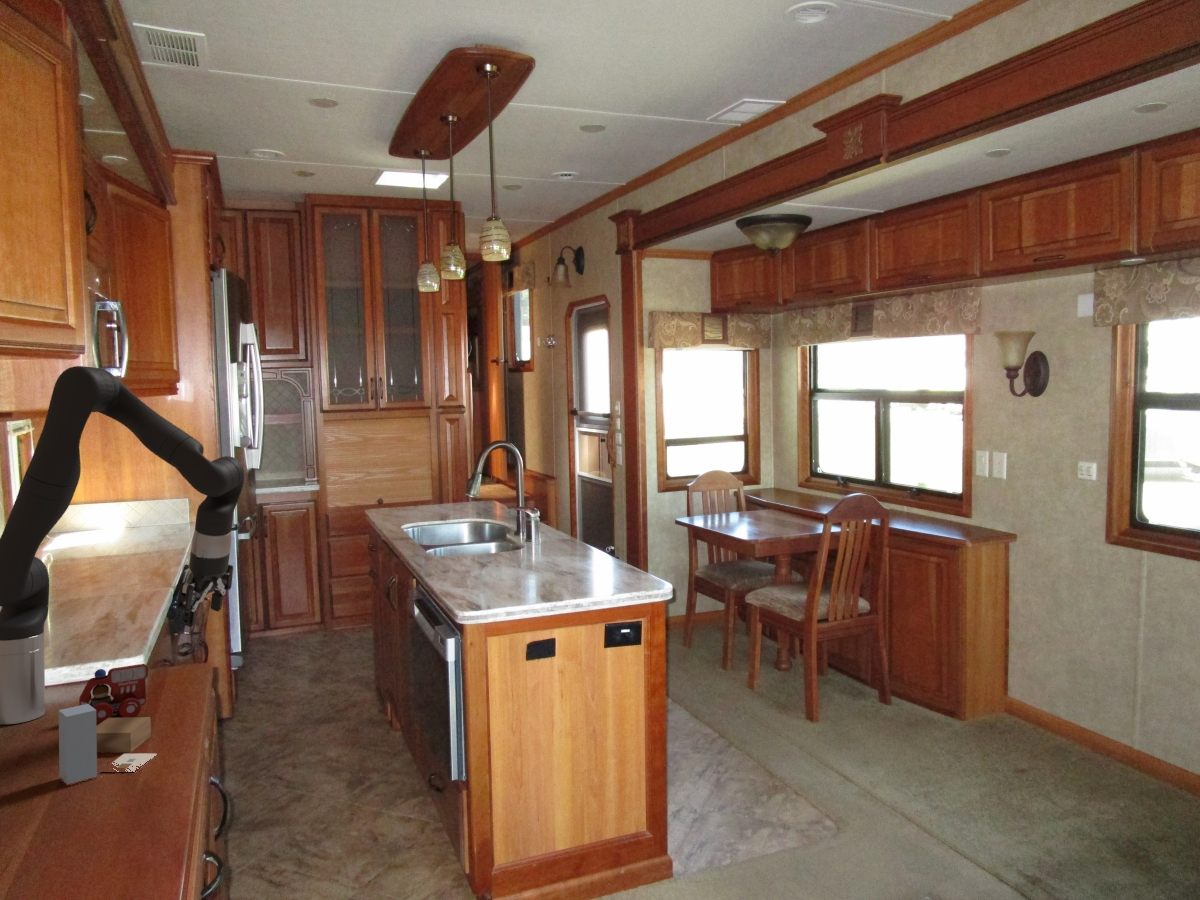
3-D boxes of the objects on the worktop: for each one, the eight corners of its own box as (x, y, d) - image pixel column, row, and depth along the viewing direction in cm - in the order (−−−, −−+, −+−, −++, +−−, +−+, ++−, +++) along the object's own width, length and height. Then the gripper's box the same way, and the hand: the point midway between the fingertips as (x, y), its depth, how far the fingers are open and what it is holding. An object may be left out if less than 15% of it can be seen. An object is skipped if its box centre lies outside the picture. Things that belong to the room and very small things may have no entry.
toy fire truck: (79, 716, 173) (78, 666, 173) (147, 705, 180) (146, 658, 179) (79, 727, 167) (78, 676, 167) (149, 715, 174) (148, 666, 174)
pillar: (67, 786, 141) (66, 716, 140) (59, 778, 144) (58, 710, 143) (97, 778, 144) (96, 710, 144) (88, 770, 147) (88, 703, 147)
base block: (86, 754, 155) (86, 733, 155) (108, 737, 163) (108, 717, 162) (130, 753, 155) (130, 732, 155) (150, 737, 163) (150, 717, 163)
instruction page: (99, 773, 146) (99, 771, 146) (124, 754, 154) (124, 752, 154) (134, 773, 146) (134, 771, 146) (157, 754, 154) (156, 753, 154)
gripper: (217, 534, 183) (209, 600, 187) (171, 554, 169) (163, 625, 173) (247, 544, 182) (238, 610, 186) (203, 565, 168) (194, 636, 172)
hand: (202, 617), depth 179 cm, fingers open, 8 cm apart
